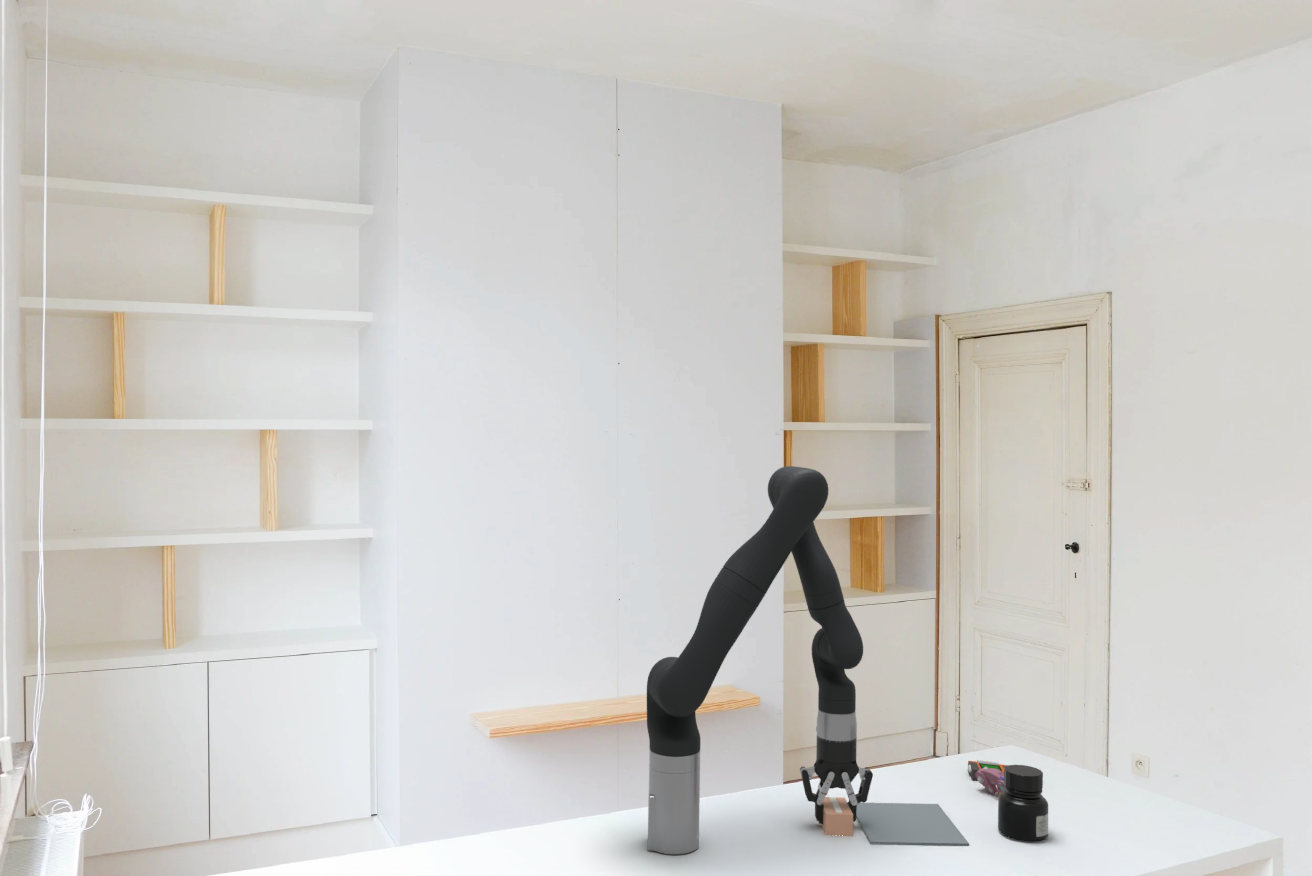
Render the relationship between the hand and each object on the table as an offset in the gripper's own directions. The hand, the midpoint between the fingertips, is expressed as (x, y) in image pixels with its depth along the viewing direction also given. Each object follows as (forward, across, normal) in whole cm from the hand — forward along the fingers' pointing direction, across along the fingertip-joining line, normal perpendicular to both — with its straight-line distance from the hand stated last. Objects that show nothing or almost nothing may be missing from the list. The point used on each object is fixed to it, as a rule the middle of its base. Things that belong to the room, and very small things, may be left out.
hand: (835, 822), depth 185 cm
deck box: (+1, 0, 0) cm, 1 cm away
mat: (+1, +14, +2) cm, 14 cm away
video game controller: (+1, +38, +18) cm, 42 cm away
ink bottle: (+1, +35, -2) cm, 35 cm away
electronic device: (+1, +42, +30) cm, 52 cm away
